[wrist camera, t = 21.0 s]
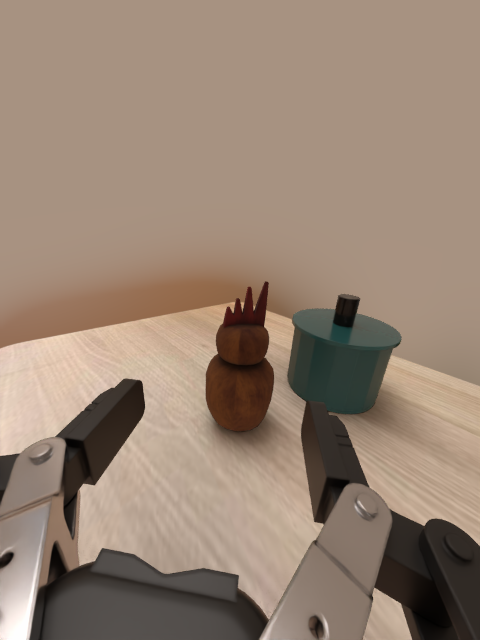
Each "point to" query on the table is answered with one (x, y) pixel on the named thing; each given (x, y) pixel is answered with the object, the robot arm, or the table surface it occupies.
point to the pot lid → (346, 327)
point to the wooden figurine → (241, 367)
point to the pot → (336, 374)
